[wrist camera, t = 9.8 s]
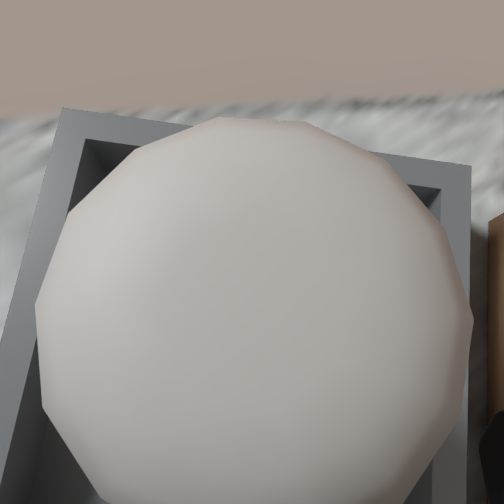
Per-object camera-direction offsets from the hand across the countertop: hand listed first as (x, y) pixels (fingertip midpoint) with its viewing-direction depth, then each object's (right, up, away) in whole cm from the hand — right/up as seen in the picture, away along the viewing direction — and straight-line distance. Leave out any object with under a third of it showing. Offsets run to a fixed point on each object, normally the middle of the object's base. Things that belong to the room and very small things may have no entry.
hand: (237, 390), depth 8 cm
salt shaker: (0, -1, +8) cm, 9 cm away
